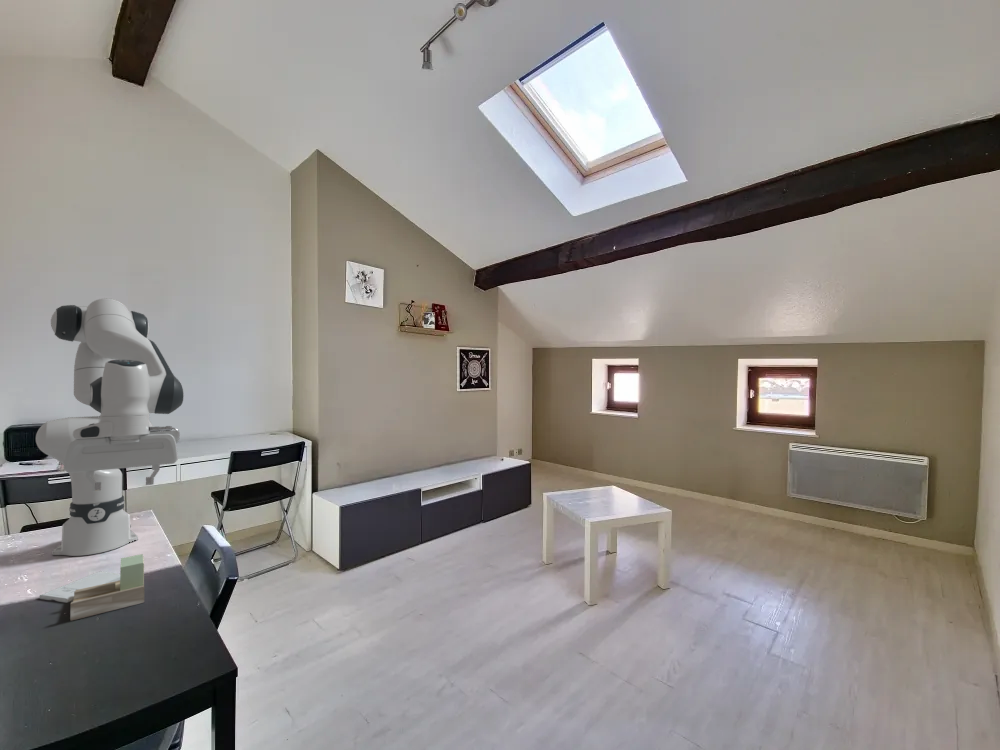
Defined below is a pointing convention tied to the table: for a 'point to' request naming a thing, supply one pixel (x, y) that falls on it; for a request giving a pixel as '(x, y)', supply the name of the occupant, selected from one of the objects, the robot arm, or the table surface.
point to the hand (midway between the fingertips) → (123, 487)
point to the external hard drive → (80, 586)
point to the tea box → (132, 572)
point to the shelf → (104, 599)
